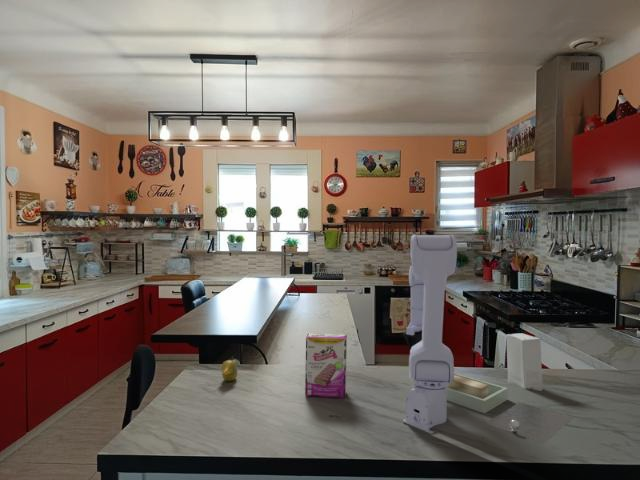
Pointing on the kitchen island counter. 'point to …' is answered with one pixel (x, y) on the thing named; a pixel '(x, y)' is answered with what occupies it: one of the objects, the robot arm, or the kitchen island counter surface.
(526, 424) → the mount
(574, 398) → the kitchen island counter surface
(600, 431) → the kitchen island counter surface
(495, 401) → the bin
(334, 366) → the candy bar box
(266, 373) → the kitchen island counter surface
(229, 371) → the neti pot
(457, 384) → the tan long block
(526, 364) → the skincare box
